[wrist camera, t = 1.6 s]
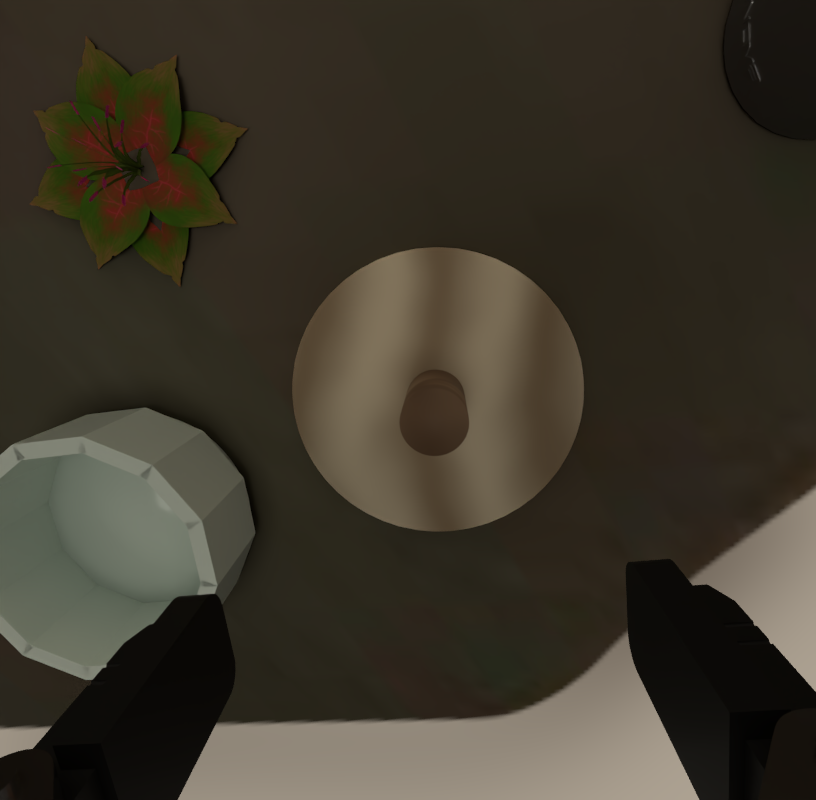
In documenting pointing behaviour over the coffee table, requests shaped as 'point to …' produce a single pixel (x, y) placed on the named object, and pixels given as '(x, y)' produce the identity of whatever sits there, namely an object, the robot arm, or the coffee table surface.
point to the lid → (438, 389)
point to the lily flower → (133, 162)
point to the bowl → (113, 532)
